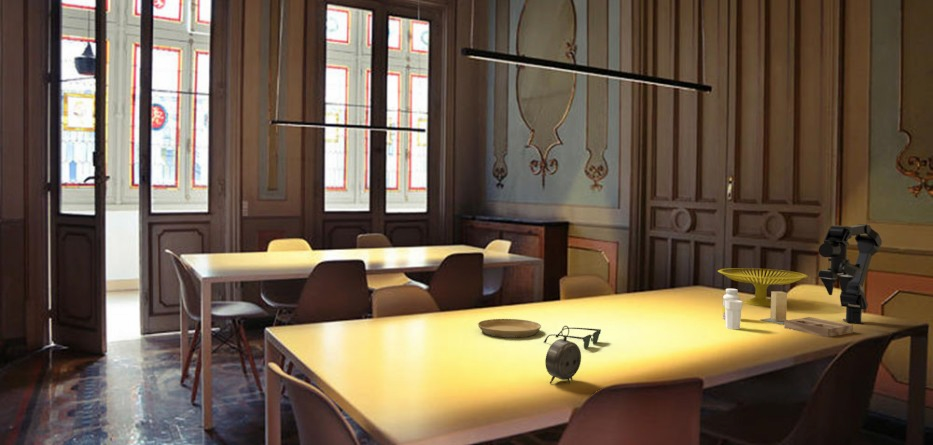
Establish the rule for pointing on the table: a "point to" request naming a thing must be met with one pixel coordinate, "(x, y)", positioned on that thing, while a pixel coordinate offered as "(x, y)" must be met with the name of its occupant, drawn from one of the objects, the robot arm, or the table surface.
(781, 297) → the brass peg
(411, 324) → the table surface
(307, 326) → the table surface
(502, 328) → the plant saucer
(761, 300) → the slatted pedestal fruit bowl
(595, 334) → the sunglasses
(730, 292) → the supplement bottle
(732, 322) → the cup
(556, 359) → the alarm clock
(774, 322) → the slate mat
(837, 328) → the two-hole peg block
